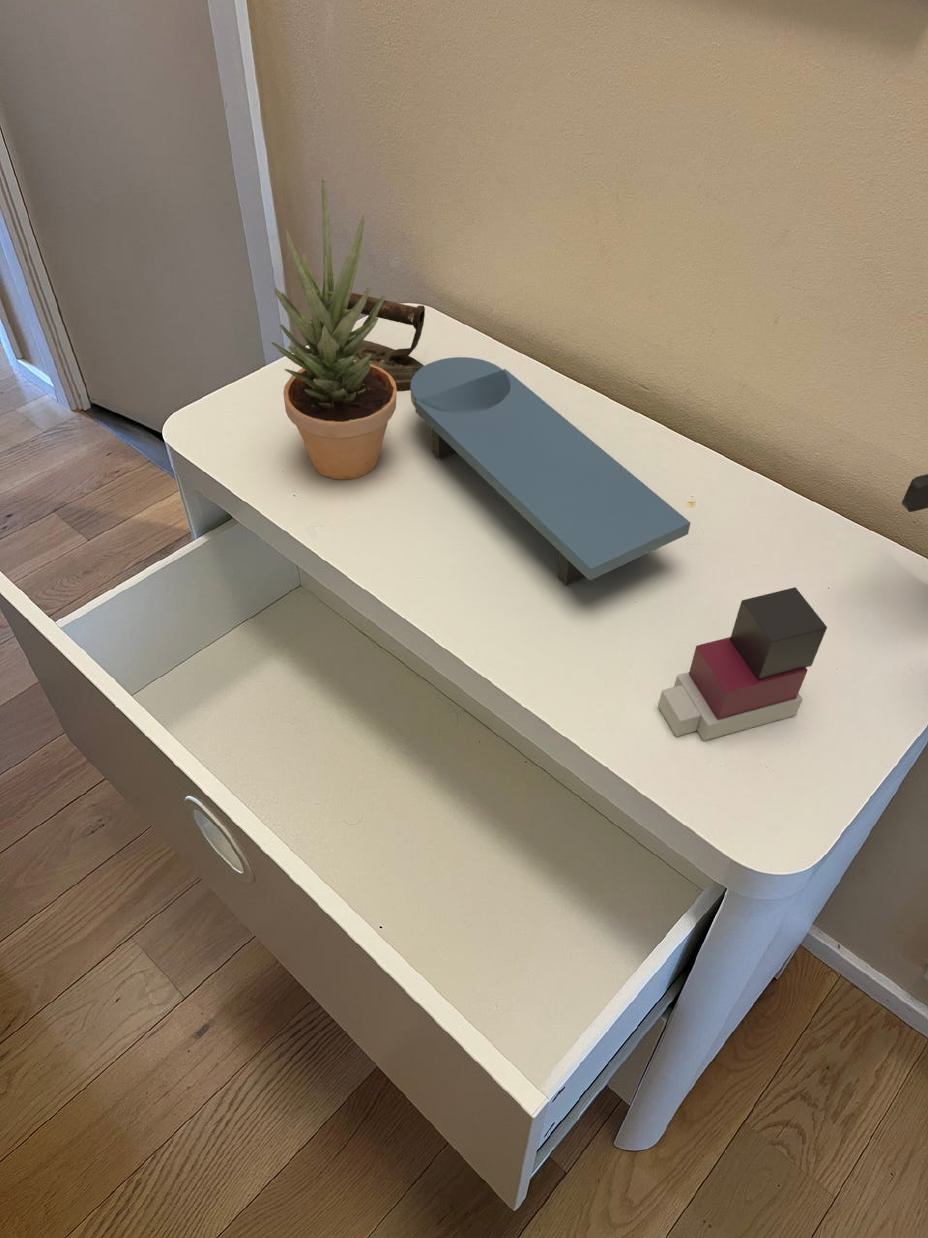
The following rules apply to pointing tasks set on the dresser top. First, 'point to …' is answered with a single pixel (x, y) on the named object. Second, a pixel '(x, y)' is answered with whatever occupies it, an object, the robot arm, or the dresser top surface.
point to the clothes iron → (389, 358)
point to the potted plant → (335, 368)
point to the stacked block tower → (747, 669)
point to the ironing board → (543, 467)
